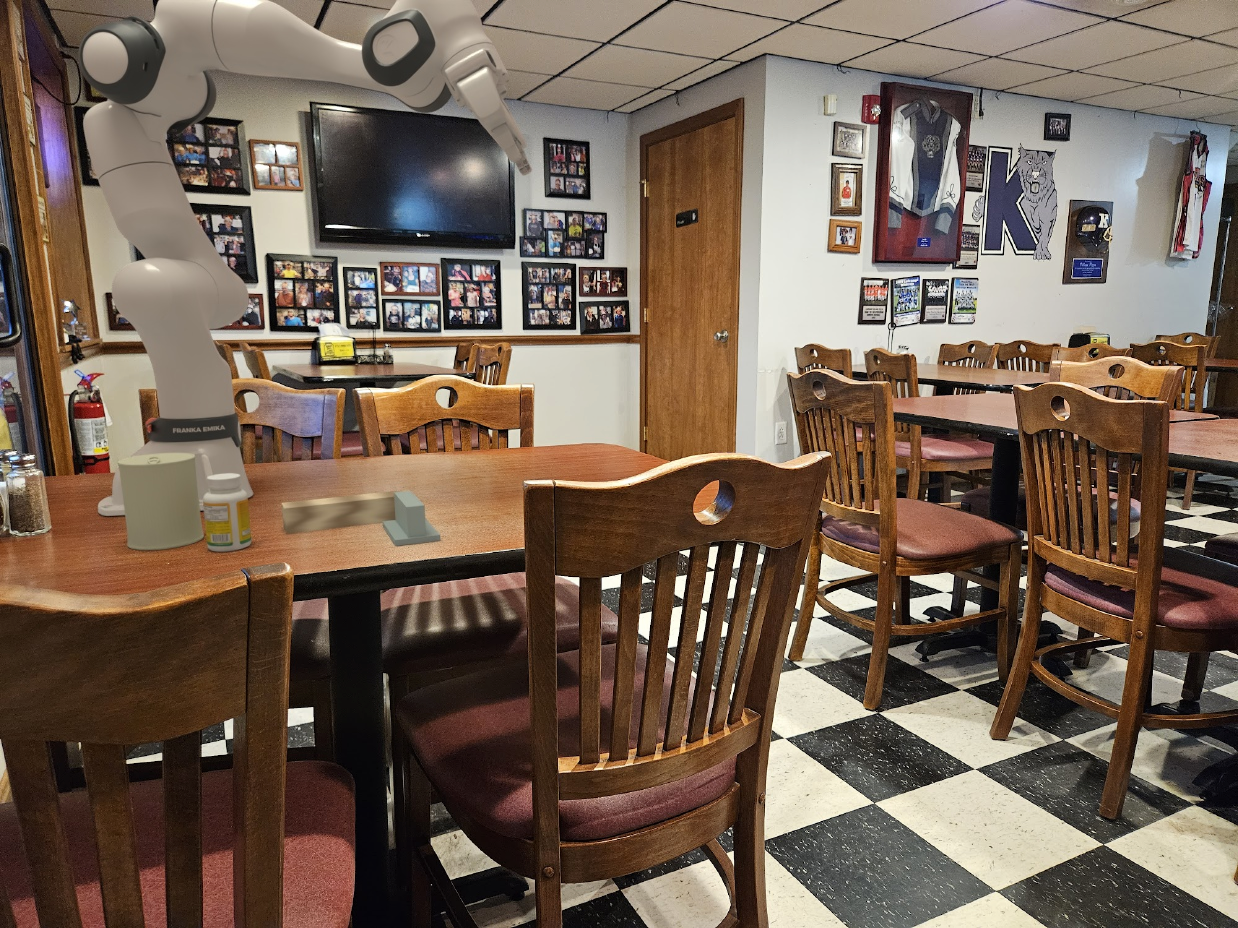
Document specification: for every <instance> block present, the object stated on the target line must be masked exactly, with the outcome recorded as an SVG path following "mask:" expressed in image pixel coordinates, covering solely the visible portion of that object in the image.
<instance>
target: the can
mask: <svg viewBox="0 0 1238 928" xmlns="http://www.w3.org/2000/svg"><path fill="white" fill-rule="evenodd" d="M117 466H118V467H119V472H120V479H121V486H122V493H123V501H124V509H125V515H124V516H125V524H126V535H127V536H126V537H127V541H126V542H127V543H126V546H127V547H128V548H129V549H131V550H135V551H160V550H161V551H162V550H170V549H177V548H182V547H185V546H189V545H192V544H193V545H194V544H195V543H198V542H200V541H201V540H203V539H204V538H205V537H204V536H205V534H204V531H203V525H202V517H201V511H200V507H199V497H198V488H197V477H196V466H195V455H194V454H190V453H158V454H147V455H139V456H133V457H131V456H129V457H125V458H121V459H119V460H118V461H117Z"/></svg>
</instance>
